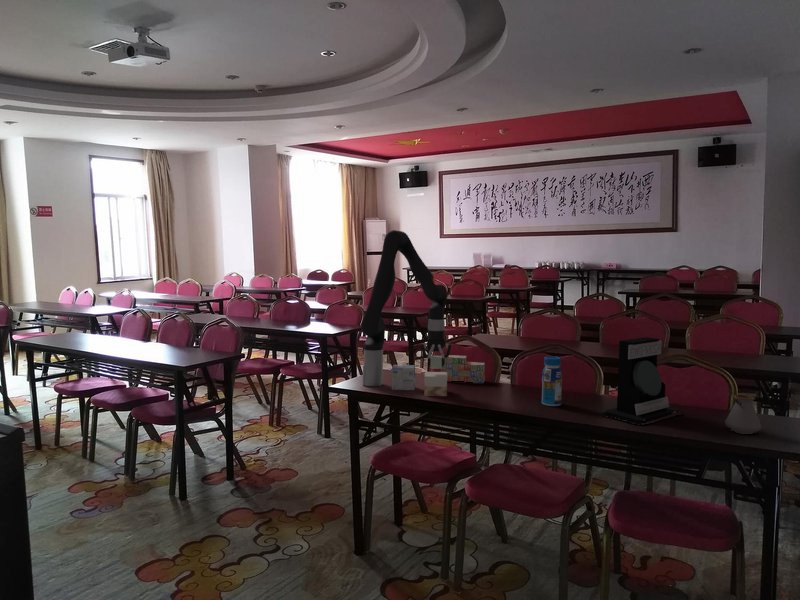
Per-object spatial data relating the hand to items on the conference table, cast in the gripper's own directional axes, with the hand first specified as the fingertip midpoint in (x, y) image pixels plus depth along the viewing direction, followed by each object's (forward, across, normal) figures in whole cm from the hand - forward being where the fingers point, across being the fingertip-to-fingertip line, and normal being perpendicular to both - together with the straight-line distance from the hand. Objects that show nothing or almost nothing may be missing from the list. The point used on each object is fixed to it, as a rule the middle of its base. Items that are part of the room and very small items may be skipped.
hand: (436, 366), depth 272 cm
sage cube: (+1, 0, 0) cm, 1 cm away
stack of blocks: (+13, +13, +27) cm, 32 cm away
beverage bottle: (+13, +49, -15) cm, 53 cm away
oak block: (+13, 0, 0) cm, 13 cm away
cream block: (+8, 0, 0) cm, 8 cm away
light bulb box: (+13, -15, +8) cm, 21 cm away
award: (+13, +82, -29) cm, 88 cm away
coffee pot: (+13, +108, -53) cm, 121 cm away
